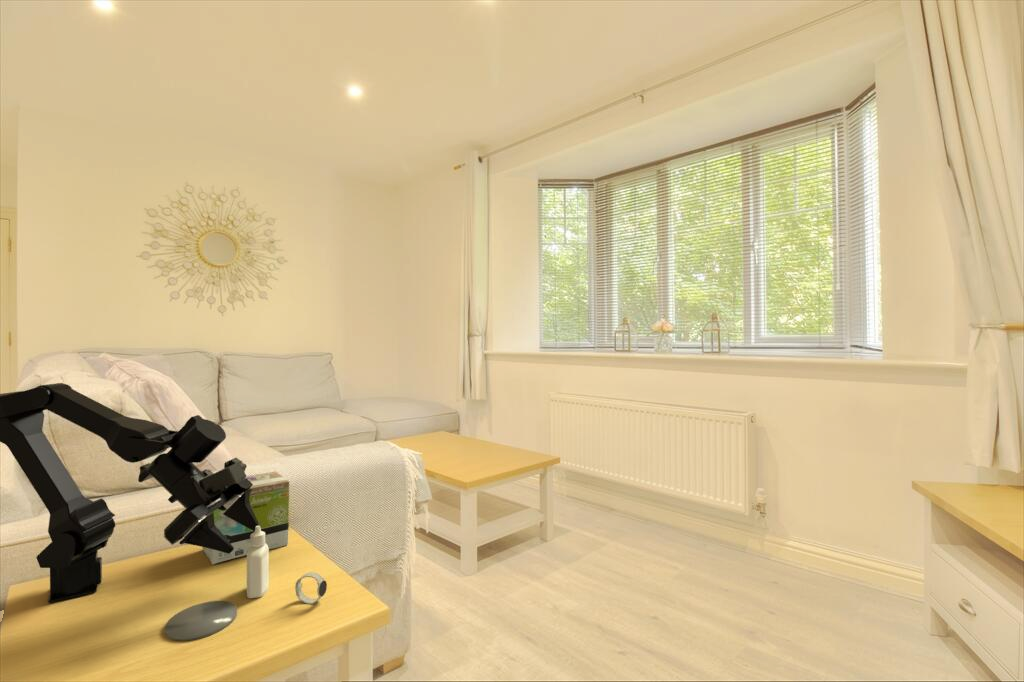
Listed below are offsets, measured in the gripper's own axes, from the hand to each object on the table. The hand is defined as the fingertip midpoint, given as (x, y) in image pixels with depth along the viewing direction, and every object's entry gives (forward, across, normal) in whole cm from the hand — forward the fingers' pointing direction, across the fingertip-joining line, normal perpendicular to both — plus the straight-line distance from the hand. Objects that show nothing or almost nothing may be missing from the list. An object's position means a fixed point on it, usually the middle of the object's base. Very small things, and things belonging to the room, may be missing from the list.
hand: (245, 539), depth 89 cm
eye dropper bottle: (+8, 0, +5) cm, 10 cm away
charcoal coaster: (+5, -9, +8) cm, 13 cm away
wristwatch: (+16, -3, -2) cm, 17 cm away
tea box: (0, +18, +13) cm, 22 cm away
